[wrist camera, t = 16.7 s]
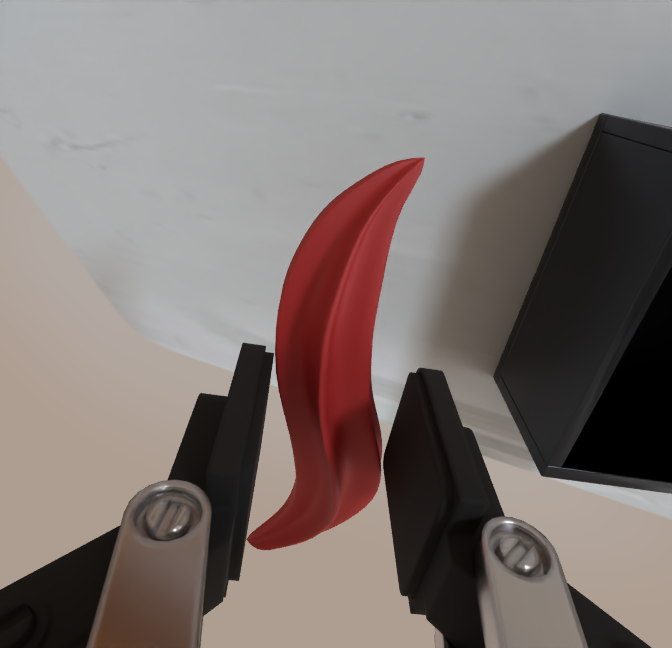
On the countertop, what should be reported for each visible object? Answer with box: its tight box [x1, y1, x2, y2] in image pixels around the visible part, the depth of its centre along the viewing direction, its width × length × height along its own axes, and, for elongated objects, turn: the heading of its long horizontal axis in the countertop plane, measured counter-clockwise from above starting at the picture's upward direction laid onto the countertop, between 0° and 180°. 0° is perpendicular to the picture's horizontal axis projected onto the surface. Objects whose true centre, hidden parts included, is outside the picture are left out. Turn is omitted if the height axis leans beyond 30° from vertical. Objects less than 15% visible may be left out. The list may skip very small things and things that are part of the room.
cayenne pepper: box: [247, 158, 425, 550], centre depth 11 cm, size 12×5×2 cm, turn 154°
